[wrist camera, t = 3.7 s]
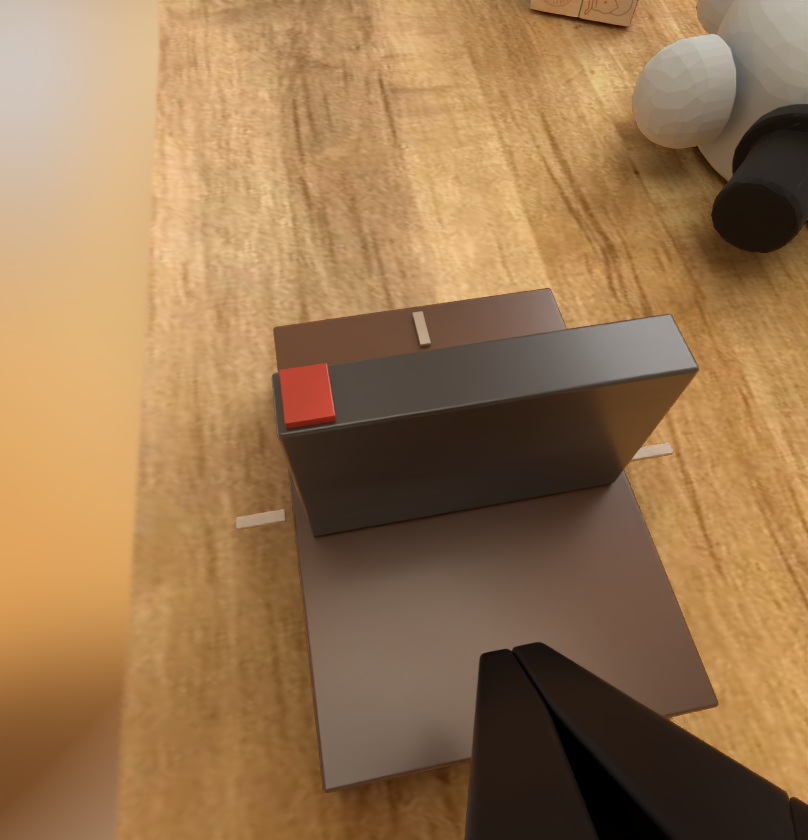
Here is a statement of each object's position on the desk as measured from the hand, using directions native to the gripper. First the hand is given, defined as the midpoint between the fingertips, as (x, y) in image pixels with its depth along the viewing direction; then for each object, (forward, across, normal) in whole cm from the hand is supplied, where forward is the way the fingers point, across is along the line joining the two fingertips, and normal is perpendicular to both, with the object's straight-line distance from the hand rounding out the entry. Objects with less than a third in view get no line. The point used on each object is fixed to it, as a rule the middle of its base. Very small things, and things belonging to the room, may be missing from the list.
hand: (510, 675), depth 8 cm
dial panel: (+12, -2, +4) cm, 13 cm away
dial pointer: (+10, -2, +1) cm, 10 cm away
